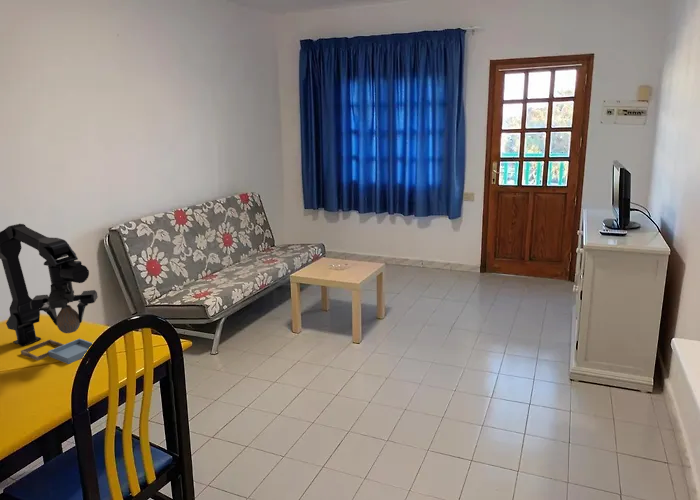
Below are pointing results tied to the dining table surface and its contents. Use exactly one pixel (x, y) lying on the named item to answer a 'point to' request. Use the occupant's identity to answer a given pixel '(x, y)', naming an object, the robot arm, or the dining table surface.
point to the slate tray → (70, 351)
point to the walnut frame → (25, 351)
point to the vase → (68, 320)
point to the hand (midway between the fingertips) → (68, 323)
